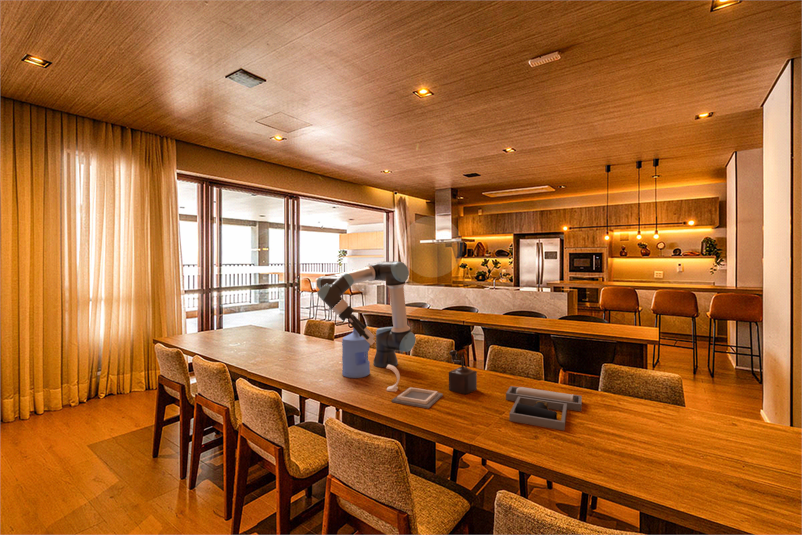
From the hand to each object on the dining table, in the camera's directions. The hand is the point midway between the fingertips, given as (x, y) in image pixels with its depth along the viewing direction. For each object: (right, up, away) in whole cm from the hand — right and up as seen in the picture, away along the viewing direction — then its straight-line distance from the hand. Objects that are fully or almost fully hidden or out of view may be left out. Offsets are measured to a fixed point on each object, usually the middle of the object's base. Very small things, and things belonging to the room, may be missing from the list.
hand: (373, 340), depth 187 cm
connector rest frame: (+71, -25, -32) cm, 82 cm away
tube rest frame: (+79, -25, -15) cm, 84 cm away
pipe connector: (+71, -25, -32) cm, 82 cm away
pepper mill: (+43, -25, +2) cm, 50 cm away
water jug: (-12, -25, +27) cm, 38 cm away
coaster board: (+22, -25, -12) cm, 35 cm away
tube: (+79, -25, -15) cm, 85 cm away
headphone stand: (+10, -25, +1) cm, 27 cm away
